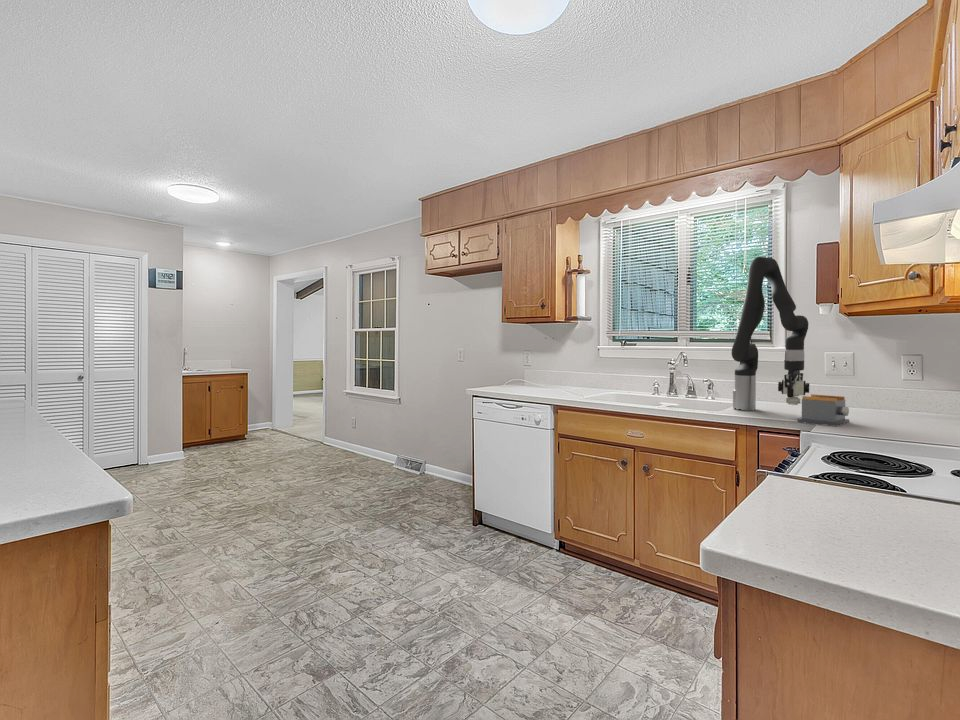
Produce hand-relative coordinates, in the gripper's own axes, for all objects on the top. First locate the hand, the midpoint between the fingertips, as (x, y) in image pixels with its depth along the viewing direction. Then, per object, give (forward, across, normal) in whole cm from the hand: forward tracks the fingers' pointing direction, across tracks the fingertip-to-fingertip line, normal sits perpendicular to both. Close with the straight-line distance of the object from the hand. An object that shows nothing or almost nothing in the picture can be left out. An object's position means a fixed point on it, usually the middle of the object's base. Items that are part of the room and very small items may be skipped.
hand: (793, 396), depth 217 cm
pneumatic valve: (+4, 0, 0) cm, 4 cm away
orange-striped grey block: (+9, +8, +15) cm, 19 cm away
